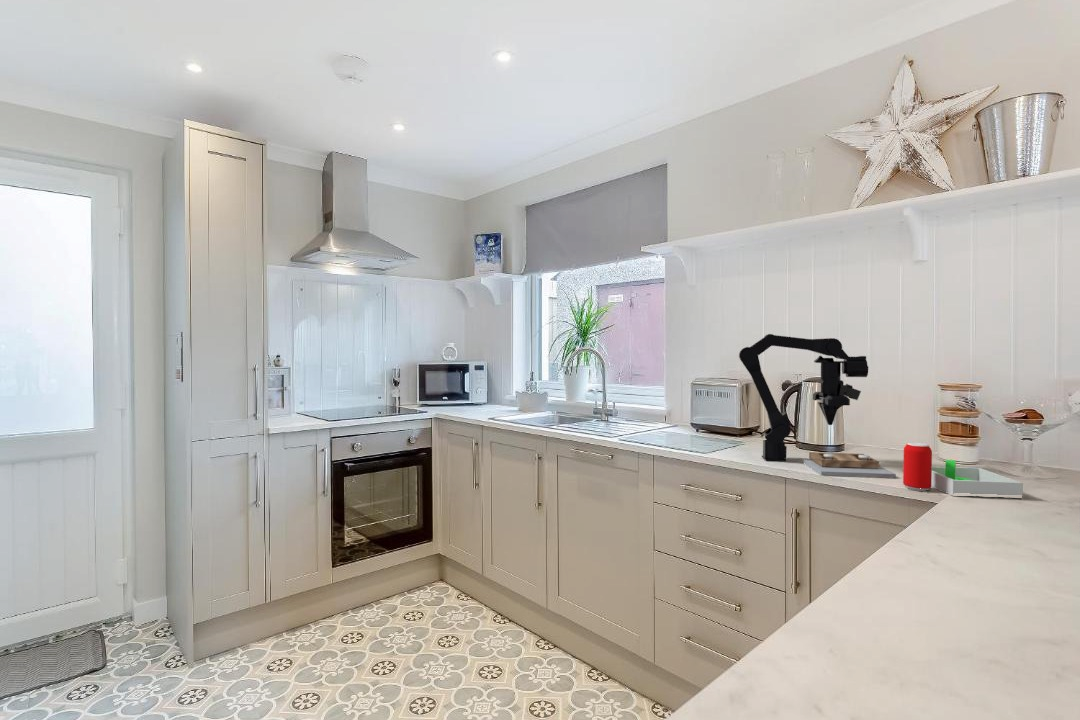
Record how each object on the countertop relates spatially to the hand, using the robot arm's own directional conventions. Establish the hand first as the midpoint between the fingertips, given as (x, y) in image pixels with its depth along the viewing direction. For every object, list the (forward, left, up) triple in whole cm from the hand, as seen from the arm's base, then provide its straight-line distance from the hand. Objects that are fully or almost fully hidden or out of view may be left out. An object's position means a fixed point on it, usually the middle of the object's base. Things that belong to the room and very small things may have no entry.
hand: (830, 424), depth 179 cm
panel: (+1, -7, -11) cm, 13 cm away
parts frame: (+24, -29, -12) cm, 40 cm away
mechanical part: (+23, -29, -13) cm, 39 cm away
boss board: (+1, -10, -12) cm, 16 cm away
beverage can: (+11, -31, -13) cm, 36 cm away
